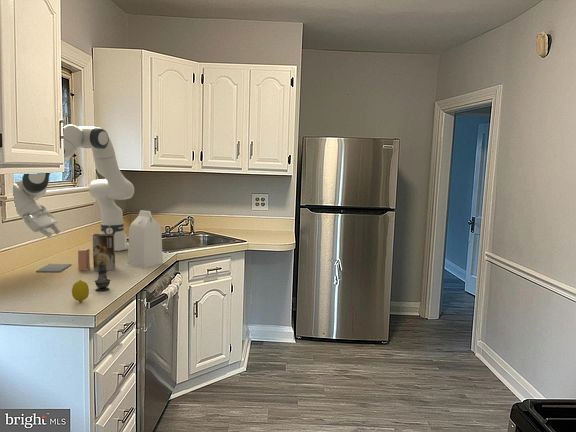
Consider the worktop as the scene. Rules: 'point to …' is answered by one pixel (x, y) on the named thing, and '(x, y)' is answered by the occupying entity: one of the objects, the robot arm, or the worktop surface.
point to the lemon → (80, 291)
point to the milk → (145, 241)
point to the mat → (54, 268)
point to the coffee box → (104, 250)
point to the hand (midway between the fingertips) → (54, 234)
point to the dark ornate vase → (102, 278)
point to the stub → (83, 259)
